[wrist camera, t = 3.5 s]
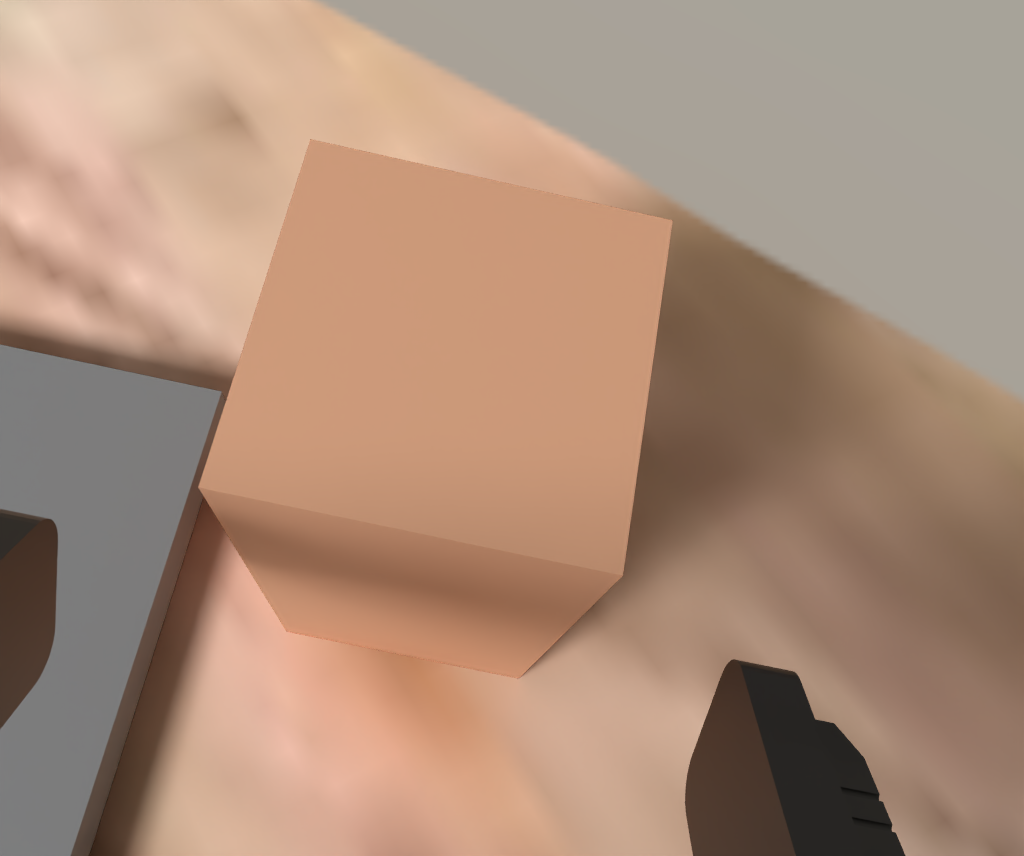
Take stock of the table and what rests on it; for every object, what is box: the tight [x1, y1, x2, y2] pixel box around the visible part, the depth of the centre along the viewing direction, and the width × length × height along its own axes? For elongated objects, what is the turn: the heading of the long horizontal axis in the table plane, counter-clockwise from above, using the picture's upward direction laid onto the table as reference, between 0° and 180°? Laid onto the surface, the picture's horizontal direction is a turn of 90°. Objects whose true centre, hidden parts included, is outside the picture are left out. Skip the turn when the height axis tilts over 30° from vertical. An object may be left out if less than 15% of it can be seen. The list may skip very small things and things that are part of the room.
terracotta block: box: [198, 139, 673, 678], centre depth 17 cm, size 5×5×10 cm
